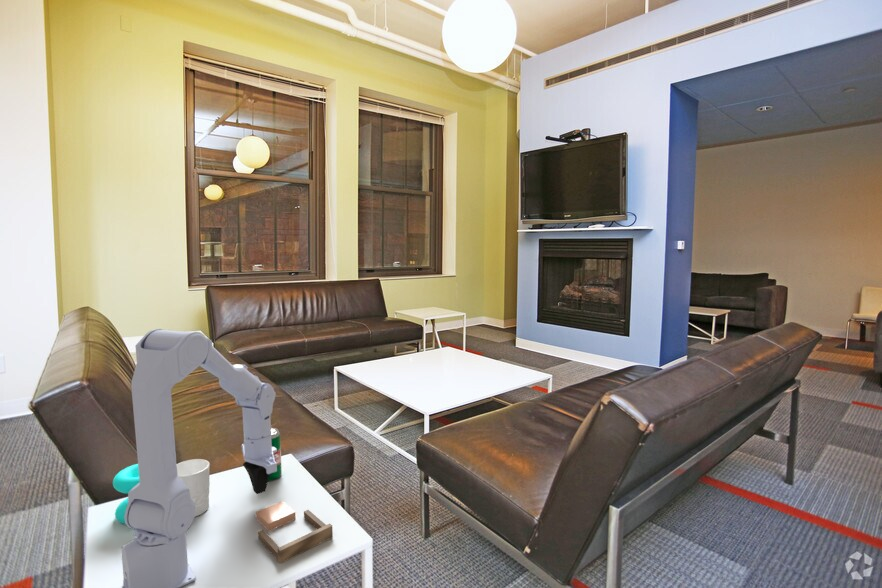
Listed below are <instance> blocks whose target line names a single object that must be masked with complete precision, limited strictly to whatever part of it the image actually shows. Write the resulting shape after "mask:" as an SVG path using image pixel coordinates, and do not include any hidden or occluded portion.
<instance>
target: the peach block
mask: <svg viewBox="0 0 882 588" xmlns="http://www.w3.org/2000/svg"><path fill="white" fill-rule="evenodd" d="M255 520H256V521H258V522H259V523H260V524H261V525H262V526H263V527H264V528H265V529H266V530H267V531H268V532H270V531H272V530H275V529H276V527H277V528H279V527H281V526H284V525H285V524H287V523H290V522H292V521H294V520H296V511H295V510H294V509H292V508H291V507H290V506H289V505H287V504H286V503H285V502H284V501H282V500H280V501H279V502H276V503H275V504H272V505H269V506H267V507H264V508H262V509H259V510H258V511H255ZM280 525H281V526H280Z"/></svg>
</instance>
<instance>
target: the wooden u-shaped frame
mask: <svg viewBox="0 0 882 588" xmlns="http://www.w3.org/2000/svg"><path fill="white" fill-rule="evenodd" d="M303 519H304V520H305V521H307V522H308V523H309V524H310V525H311V526H313V527H314V529H315V530H313V531H311V532H309V533H307V534H305V535H302V536H301V537H299V538H296V539H294V540H292V541H290V542H288V543H286V544H284V545H281V546H279V545H278V544H277V543H276V542H275V541H274V540H273V539H272V537H270V535H269V534H268V533H267V532H266V531H265V530H264V529H261V530H258V531H257V539H258V540H259V542H260V543H261V544H262V545H264V547H265V548H266V550H267V551H268V552H270V554H272V556H273V557H274V558H275V559H276V561H277V562H279V564H282V563H284V562H287V561H288V560H290V559H292V558H294V557H296V556H298V555H300V554H303V553H304V552H306V551H308V550H310V549H312V548H314V547H316V546H317V545H320V544H322V543H324V542H326V541H328V540H330V539H332V538H334V536H333V535H334V534H333V533H334V532H333V525H332V524H331V523H328V524H326V523H325V522H324V521H323V520H321V519H320V518H319V517H318V516H316V515H315V514H314V513H313V512H312V511H311V510H309V509H306V510H304V511H303Z"/></svg>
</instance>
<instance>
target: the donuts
mask: <svg viewBox="0 0 882 588" xmlns="http://www.w3.org/2000/svg"><path fill="white" fill-rule="evenodd" d="M138 483H140V480H139V469H138V463H135V464H132V465H130V466H126V467H125V468H124V469H123V468H122V470H120V471H119V472H118V473H116V474H115V476H114V478H113V479H112V486H113V488H114V489H115V490H116V491H117V492H119V493H122V494H128V493H129V491H130V490H131V489H132V488H134V487H135V486H136V485H137V484H138ZM127 505H128V497H126V498H125V499H124V500H123V501H121V502H120V503H119V504H118V506H117V507H116V509H115V513H114V516H115V519H116V521H118V523H120V524H122V525H123V524H124V525H126V523H125V511H126V508H127Z"/></svg>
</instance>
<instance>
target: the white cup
mask: <svg viewBox="0 0 882 588" xmlns="http://www.w3.org/2000/svg"><path fill="white" fill-rule="evenodd" d="M177 475H178V477H179V478H180V479H181V480H182V481H183V482H184V483H185V484H186V485H187V487H188V488H189V493H190V497H191V499H192V500H193V502H194V504H195V515H194V518H195V517H198V516H199V515H202V514H204V513H205V512H206V511H207V510H208V508H209V507H210V498H209V496H210V461H208V460H206V459H202V458H194V459H187V460H183V461H181V462H178V463H177Z"/></svg>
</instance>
